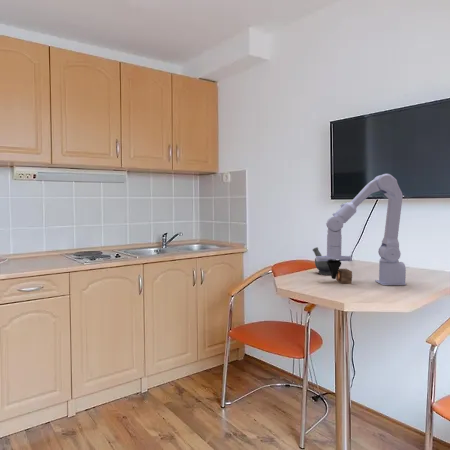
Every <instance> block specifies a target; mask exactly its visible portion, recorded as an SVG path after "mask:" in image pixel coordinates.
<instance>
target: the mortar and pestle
mask: <svg viewBox="0 0 450 450" xmlns="http://www.w3.org/2000/svg"><path fill="white" fill-rule="evenodd" d="M312 252H313V253H314V255H315V258H314V265H315V267H316V269H317V270H318V274H319V275H321V274H322V275H323V276H330V275H331V272H330V269H329V266H328V264H327V261H316V256H323V255H322V253H321V252H320V250H319V247H314V248H312ZM330 260H337V259H330Z"/></svg>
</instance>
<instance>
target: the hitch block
mask: <svg viewBox="0 0 450 450" xmlns="http://www.w3.org/2000/svg"><path fill="white" fill-rule="evenodd" d="M338 271H340V273H341V279H340V280H336V281H337V282H339V283H340V284H342V285H349V284H351V285H353V284H352V283H353V271H352V270H351V269H349V268H339V269H338Z"/></svg>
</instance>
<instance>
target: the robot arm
mask: <svg viewBox="0 0 450 450" xmlns="http://www.w3.org/2000/svg"><path fill="white" fill-rule="evenodd" d="M378 192H380V193H382V194H384V196H385V197H386V198H387V199H388V200H387V209H386V219H385V226H384V234H383V238H382V240H381V244H380V247H379V248H378V255H379V257H380V259H379V260H378V261H379V265H378V266H379V270H378V279H375V280H374V282H376V283H378V284H380V285H382V286H406V285H407V283H406V278H407V277H406V275H407V273H406V271H407V270H406V264H405V262H403V261H400V259H401V255H402V253H401V250H400V242H399V239H398V238H399V228H400V220H401V214H402V212H401V211H402V205H403V197H404V196H403V192H402V190H401V188H400V186H399V184H398V180H397V179H396V177H394V176H393V175H392V174H390V173H383V174H380V175H376V176H375V177H374V178H373V180H371V181H369V182H368V183H367V184H366V185H365V186H364V187H363V188H362V189H361V190H360V191H359V192H358V194H356V196H355V197H353V199H352V200H351V201H348V202H344V203H342V204H341V205H340V207H339V209H338V210H336V212H333V213H332V216H330V217H329V218H328V219H327V221H326V223H325V224H326V227H327V230H326V231H327V234H326V255H322V256H316V255H315V258H316V261H327V264H328V266H329V269H330V272H331V279H332V280H336V275H337V272H338V269H340V267H341V266H342V262H353V256H351V255H349V256H348V255H342V229H343V227H344V224H346V223H348V221H349V220H350V219H351V218H352V217H353V216H354V215H355V214H356V213H357V207H358V206H360V204H362V203H363V202H364V201H365V200H366V199H367V198H368V197H369V196H371V194H374V193H378ZM330 259H336V260H330Z"/></svg>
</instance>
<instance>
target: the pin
mask: <svg viewBox="0 0 450 450" xmlns="http://www.w3.org/2000/svg"><path fill="white" fill-rule="evenodd" d="M340 279H341V273H340V271H338V272H337V275H336V279H335V281H337V280H340Z"/></svg>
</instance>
